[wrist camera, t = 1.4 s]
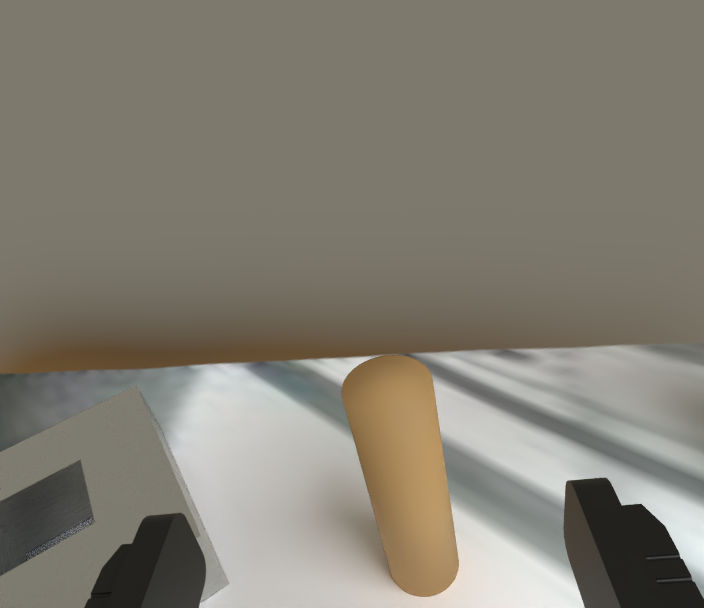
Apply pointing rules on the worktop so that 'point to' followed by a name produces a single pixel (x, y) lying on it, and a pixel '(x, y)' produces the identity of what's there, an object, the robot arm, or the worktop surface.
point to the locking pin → (404, 469)
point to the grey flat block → (87, 501)
